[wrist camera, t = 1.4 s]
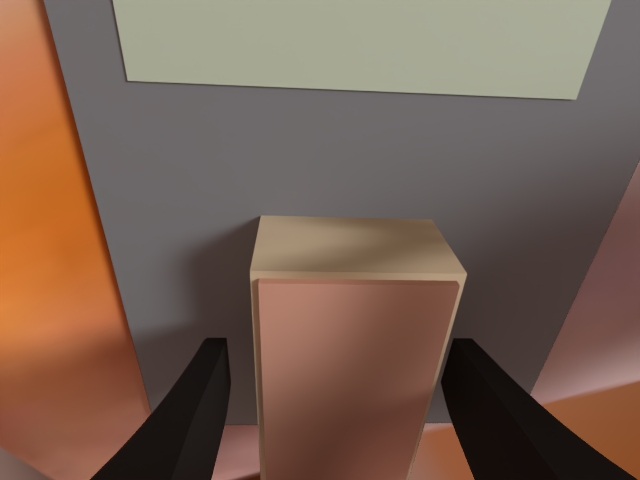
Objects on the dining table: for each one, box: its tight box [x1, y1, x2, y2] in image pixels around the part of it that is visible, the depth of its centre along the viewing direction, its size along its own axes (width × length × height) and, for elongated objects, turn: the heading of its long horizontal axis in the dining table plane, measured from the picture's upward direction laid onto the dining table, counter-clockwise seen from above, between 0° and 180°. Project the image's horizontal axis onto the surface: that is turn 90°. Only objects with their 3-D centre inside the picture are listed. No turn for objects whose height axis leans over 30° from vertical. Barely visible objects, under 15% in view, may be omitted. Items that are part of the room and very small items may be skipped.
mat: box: [44, 0, 640, 425], centre depth 11 cm, size 15×22×1 cm
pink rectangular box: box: [250, 216, 467, 480], centre depth 12 cm, size 5×9×3 cm, turn 177°
